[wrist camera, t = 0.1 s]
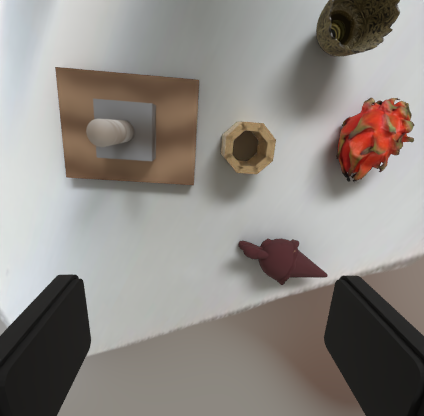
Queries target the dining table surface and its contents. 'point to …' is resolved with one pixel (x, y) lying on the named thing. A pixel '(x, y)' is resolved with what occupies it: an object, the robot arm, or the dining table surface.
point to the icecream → (281, 259)
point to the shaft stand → (128, 126)
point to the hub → (263, 150)
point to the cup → (355, 25)
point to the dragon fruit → (373, 136)
